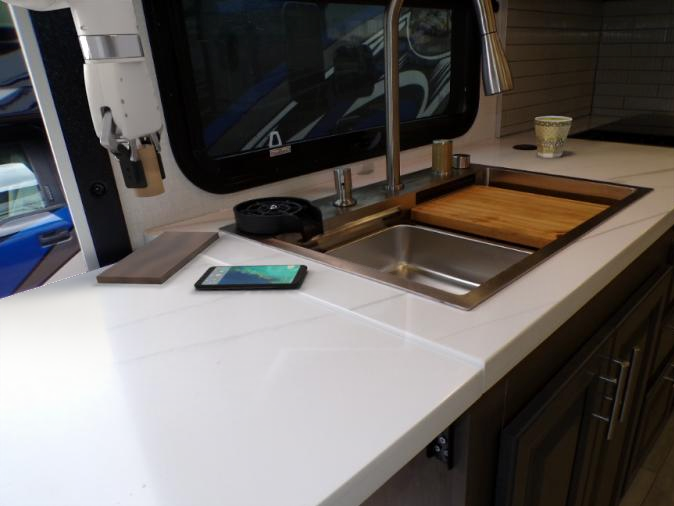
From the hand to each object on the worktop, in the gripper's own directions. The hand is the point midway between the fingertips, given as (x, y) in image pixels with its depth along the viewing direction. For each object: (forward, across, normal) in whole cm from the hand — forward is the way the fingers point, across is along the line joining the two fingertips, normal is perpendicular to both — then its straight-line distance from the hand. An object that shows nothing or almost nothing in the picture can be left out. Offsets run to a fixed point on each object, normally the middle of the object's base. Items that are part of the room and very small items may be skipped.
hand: (146, 182), depth 80 cm
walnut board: (+12, 0, 0) cm, 12 cm away
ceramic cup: (+13, -82, +73) cm, 110 cm away
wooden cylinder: (+2, 0, 0) cm, 2 cm away
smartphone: (+12, +8, +18) cm, 23 cm away
